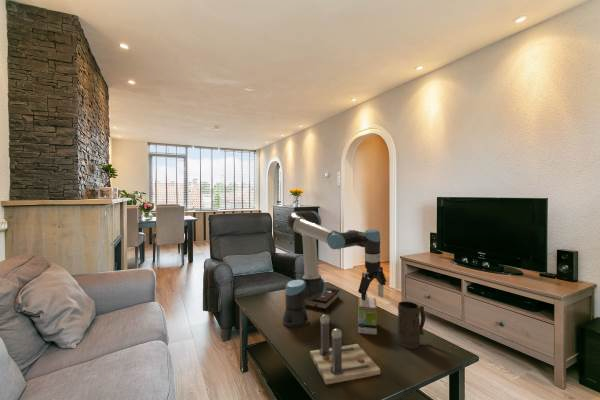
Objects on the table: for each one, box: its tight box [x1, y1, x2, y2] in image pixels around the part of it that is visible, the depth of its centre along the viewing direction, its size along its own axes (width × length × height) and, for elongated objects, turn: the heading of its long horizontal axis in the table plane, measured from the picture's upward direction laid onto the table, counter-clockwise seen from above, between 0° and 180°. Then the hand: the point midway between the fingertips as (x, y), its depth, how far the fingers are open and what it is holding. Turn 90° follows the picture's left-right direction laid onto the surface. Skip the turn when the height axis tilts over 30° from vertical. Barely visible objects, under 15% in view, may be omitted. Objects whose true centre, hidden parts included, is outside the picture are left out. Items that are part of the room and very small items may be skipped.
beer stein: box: [396, 301, 426, 350], centre depth 142 cm, size 15×11×20 cm
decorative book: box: [305, 287, 340, 312], centre depth 196 cm, size 19×8×30 cm
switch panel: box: [309, 343, 381, 385], centre depth 124 cm, size 21×24×2 cm
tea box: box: [357, 296, 378, 335], centre depth 158 cm, size 15×10×15 cm
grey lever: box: [318, 314, 331, 356], centre depth 129 cm, size 4×4×18 cm
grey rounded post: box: [330, 327, 343, 375], centre depth 116 cm, size 4×4×18 cm
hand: (372, 300), depth 143 cm, fingers open, 13 cm apart
